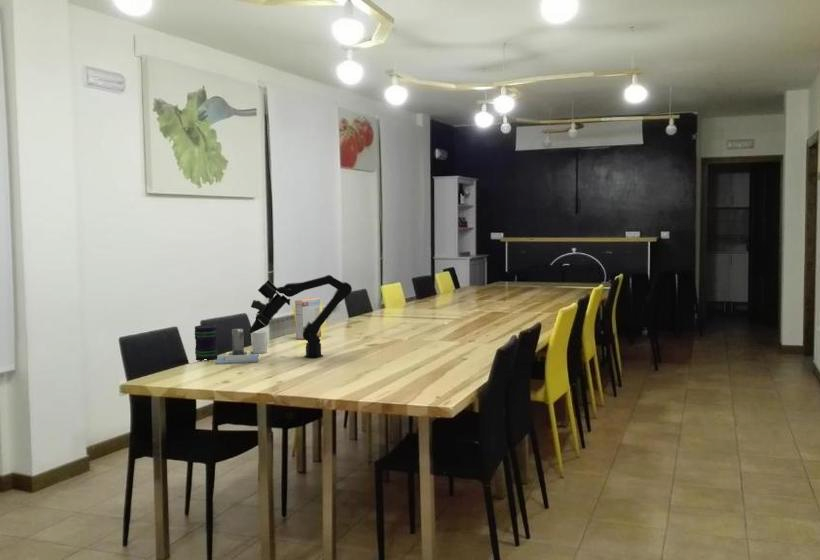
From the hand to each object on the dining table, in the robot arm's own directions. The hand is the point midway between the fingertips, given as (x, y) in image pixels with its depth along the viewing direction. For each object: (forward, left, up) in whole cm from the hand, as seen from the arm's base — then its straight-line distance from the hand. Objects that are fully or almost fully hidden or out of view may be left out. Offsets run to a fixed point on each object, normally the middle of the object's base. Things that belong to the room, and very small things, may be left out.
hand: (250, 331), depth 332 cm
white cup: (+10, -15, -13) cm, 22 cm away
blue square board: (+4, +4, -13) cm, 14 cm away
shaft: (+4, +4, -12) cm, 13 cm away
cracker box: (+21, -61, -13) cm, 66 cm away
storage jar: (+18, +10, -13) cm, 25 cm away
